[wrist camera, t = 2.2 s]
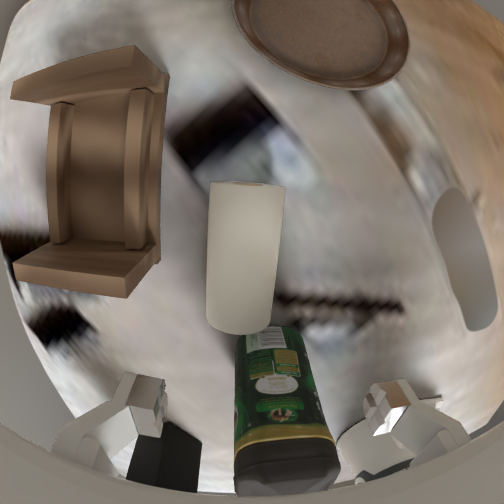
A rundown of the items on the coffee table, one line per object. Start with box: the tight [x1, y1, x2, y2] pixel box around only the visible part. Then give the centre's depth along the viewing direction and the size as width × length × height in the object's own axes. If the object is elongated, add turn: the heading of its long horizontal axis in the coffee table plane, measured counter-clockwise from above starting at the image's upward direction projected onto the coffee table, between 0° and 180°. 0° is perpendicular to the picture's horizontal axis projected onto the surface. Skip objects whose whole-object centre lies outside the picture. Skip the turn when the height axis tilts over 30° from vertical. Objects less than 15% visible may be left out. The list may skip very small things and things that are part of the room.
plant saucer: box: [232, 0, 410, 90], centre depth 18 cm, size 18×18×3 cm
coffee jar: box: [233, 326, 341, 496], centre depth 21 cm, size 10×8×19 cm
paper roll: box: [206, 181, 286, 335], centre depth 23 cm, size 12×6×6 cm, turn 175°
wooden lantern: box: [10, 45, 170, 299], centre depth 19 cm, size 18×12×9 cm, turn 175°
